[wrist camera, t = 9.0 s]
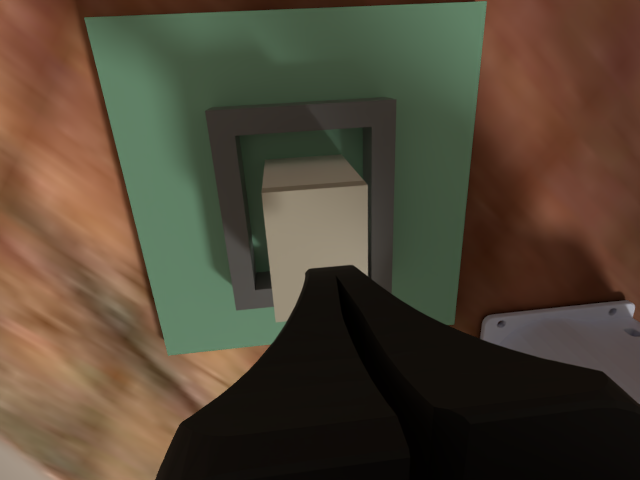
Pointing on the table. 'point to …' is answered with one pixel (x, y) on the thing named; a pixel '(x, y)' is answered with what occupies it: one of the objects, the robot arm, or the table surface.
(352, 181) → the plug
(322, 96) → the board
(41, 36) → the table surface
